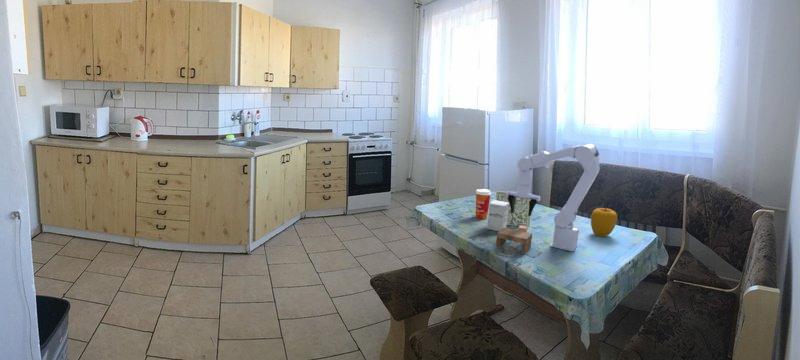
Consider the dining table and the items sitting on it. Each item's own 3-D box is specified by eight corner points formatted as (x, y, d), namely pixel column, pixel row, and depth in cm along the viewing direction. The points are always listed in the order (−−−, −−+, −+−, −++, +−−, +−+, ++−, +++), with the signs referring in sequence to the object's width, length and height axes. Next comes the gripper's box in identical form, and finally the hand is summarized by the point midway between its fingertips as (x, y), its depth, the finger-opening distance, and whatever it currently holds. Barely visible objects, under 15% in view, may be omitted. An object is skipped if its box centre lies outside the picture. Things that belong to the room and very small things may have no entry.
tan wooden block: (526, 239, 196) (527, 226, 194) (512, 252, 181) (514, 238, 179) (519, 238, 197) (520, 225, 196) (505, 250, 182) (507, 236, 181)
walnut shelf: (530, 248, 186) (532, 233, 185) (524, 254, 179) (526, 239, 178) (502, 241, 192) (503, 227, 191) (495, 247, 185) (497, 232, 184)
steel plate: (515, 254, 180) (515, 251, 180) (511, 258, 176) (511, 255, 176) (503, 251, 183) (503, 248, 183) (499, 255, 179) (499, 252, 178)
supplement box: (486, 229, 207) (488, 203, 204) (491, 225, 214) (493, 199, 211) (502, 232, 204) (505, 205, 201) (506, 228, 210) (509, 202, 207)
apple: (617, 240, 200) (621, 213, 197) (591, 238, 202) (595, 210, 199) (611, 232, 210) (615, 206, 207) (586, 230, 212) (590, 203, 209)
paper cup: (470, 216, 226) (472, 189, 222) (483, 214, 229) (485, 188, 226) (479, 220, 219) (481, 193, 216) (492, 219, 222) (494, 192, 219)
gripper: (543, 185, 196) (539, 214, 199) (511, 179, 203) (508, 208, 206) (539, 188, 190) (535, 218, 193) (505, 182, 197) (502, 212, 200)
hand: (521, 213), depth 199 cm, fingers open, 7 cm apart
